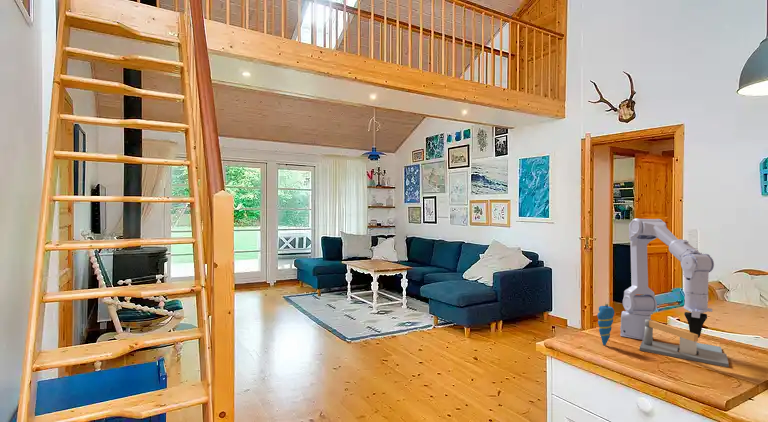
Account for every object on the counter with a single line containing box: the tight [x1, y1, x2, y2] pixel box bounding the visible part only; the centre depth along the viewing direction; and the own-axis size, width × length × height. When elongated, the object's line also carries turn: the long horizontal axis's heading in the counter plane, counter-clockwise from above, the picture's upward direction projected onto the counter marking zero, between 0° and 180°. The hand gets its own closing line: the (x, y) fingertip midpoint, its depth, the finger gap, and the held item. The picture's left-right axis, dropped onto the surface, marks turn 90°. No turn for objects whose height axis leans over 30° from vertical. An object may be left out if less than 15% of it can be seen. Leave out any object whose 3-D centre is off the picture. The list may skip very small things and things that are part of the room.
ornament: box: [596, 303, 615, 346], centre depth 144 cm, size 5×5×15 cm
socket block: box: [638, 326, 729, 368], centre depth 138 cm, size 23×12×7 cm, turn 53°
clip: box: [645, 319, 699, 342], centre depth 136 cm, size 18×2×2 cm, turn 13°
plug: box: [678, 337, 698, 355], centre depth 137 cm, size 4×4×7 cm
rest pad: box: [697, 342, 723, 353], centre depth 144 cm, size 8×8×1 cm
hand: (695, 336), depth 130 cm, fingers closed
